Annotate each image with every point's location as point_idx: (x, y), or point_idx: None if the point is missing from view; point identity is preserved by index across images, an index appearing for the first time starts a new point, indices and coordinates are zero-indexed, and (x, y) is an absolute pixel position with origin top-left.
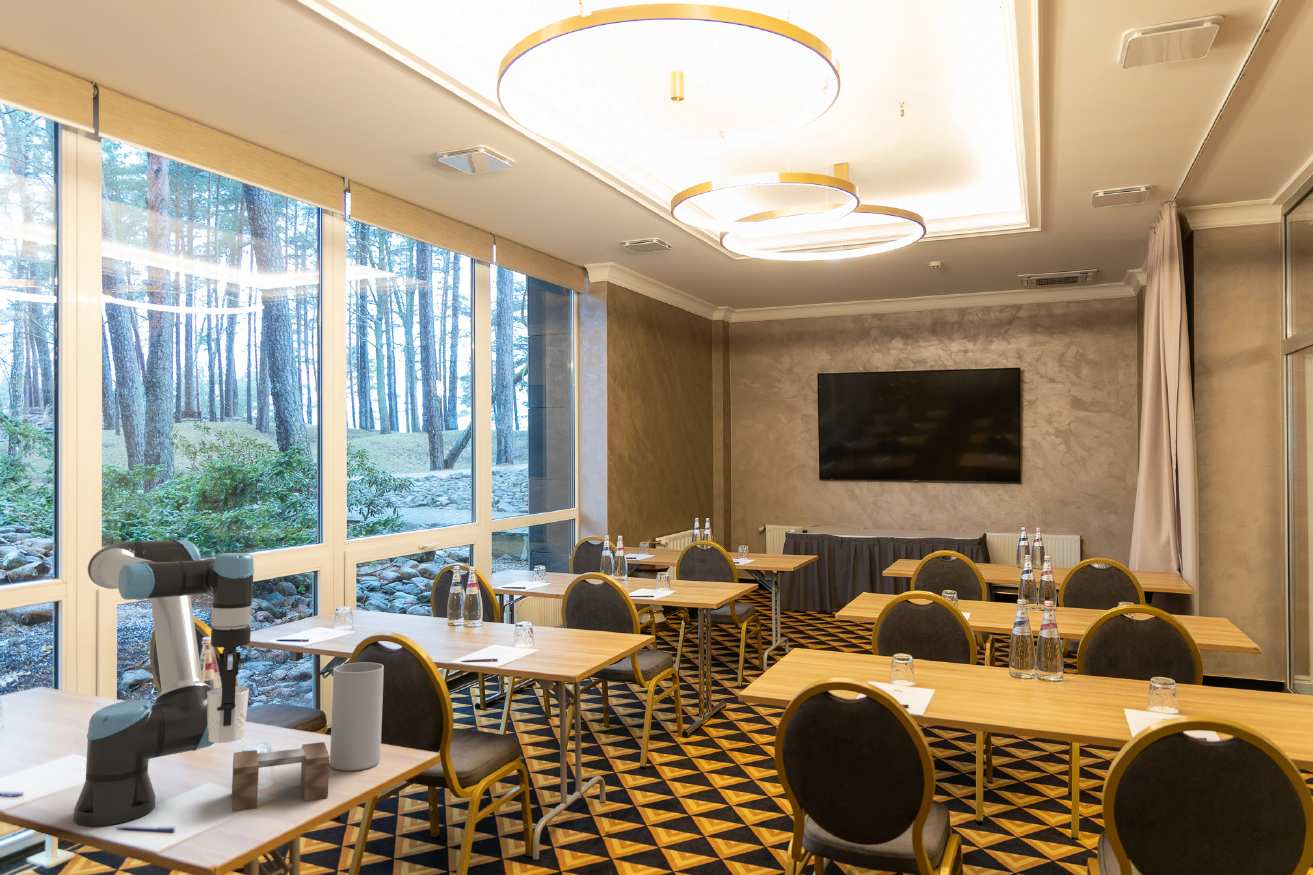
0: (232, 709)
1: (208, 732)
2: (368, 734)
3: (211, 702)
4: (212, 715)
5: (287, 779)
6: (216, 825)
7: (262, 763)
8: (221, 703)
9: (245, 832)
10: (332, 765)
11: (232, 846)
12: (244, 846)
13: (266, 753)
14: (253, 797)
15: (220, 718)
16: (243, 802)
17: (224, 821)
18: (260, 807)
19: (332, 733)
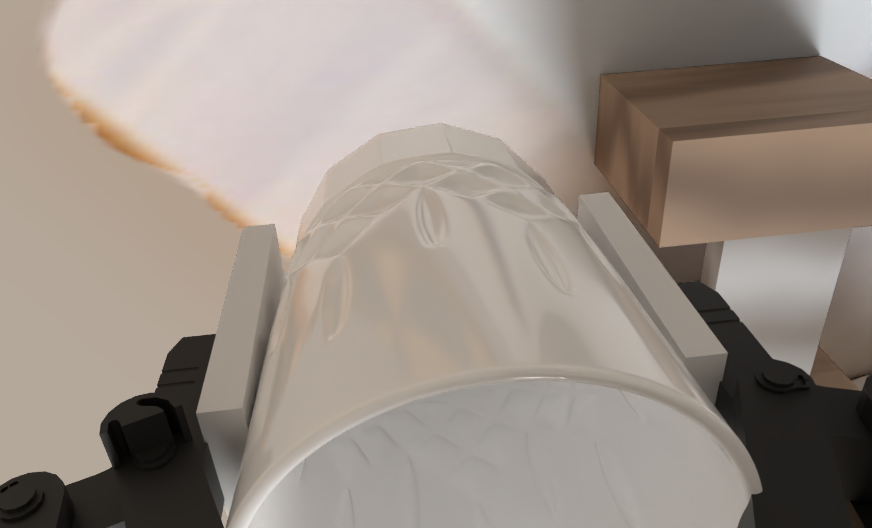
0: (223, 500)
1: (408, 151)
2: None
3: (310, 363)
4: (306, 281)
5: (847, 247)
6: (470, 25)
7: (715, 250)
8: (137, 494)
9: (350, 141)
10: (859, 383)
11: (219, 106)
12: (208, 148)
13: (825, 265)
14: (609, 168)
15: (216, 351)
16: (606, 126)
17: (502, 53)
18: (595, 175)
19: None
